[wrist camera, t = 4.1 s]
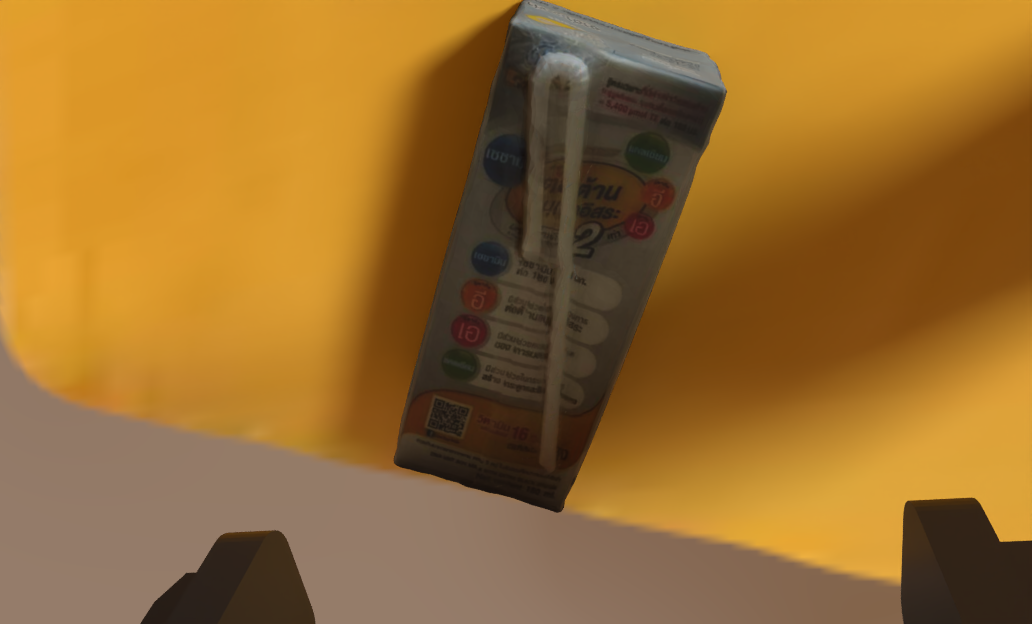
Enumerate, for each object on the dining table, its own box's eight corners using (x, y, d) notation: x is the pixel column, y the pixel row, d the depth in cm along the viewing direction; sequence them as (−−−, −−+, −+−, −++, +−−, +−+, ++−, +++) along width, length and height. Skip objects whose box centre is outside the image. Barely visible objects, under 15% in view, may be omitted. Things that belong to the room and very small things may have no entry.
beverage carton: (726, 51, 33) (744, 93, 27) (573, 439, 42) (563, 533, 37) (524, -13, 33) (500, 17, 27) (415, 391, 42) (380, 477, 36)
